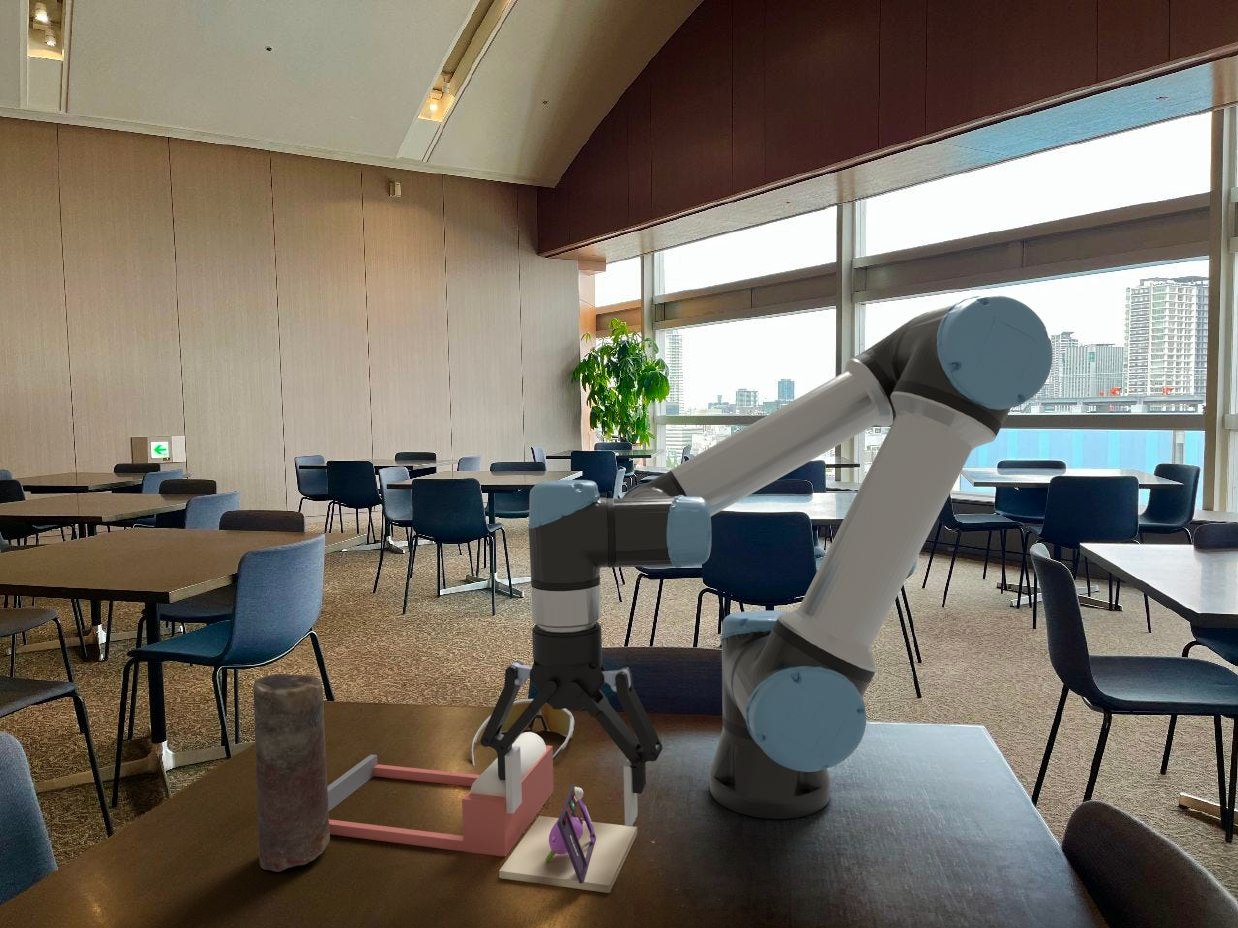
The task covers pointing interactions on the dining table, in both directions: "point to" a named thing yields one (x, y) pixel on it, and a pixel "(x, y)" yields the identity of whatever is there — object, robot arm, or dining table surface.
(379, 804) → the dining table surface
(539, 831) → the plate
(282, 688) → the brown stone cylinder
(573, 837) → the purple toy
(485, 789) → the frame
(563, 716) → the sunglasses
